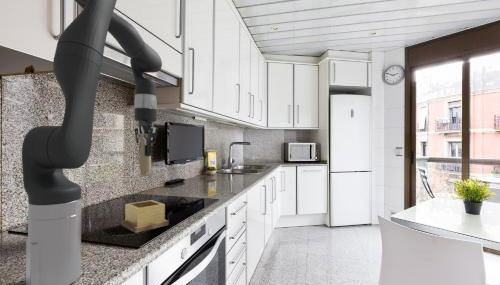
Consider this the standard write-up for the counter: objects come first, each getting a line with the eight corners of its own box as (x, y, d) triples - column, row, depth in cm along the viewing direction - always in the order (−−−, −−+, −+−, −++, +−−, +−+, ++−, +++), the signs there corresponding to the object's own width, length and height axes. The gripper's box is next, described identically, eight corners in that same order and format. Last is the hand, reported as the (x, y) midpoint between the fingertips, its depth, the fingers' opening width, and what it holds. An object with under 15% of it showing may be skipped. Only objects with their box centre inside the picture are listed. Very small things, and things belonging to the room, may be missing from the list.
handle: (145, 176, 93) (145, 133, 93) (133, 175, 96) (134, 133, 96) (156, 175, 97) (157, 134, 97) (145, 174, 100) (145, 134, 100)
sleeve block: (135, 232, 88) (135, 210, 88) (121, 225, 96) (121, 204, 96) (168, 224, 97) (168, 204, 97) (152, 218, 105) (153, 199, 105)
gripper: (127, 108, 99) (126, 155, 99) (144, 105, 89) (144, 156, 89) (146, 110, 104) (146, 154, 104) (165, 107, 94) (164, 156, 94)
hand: (145, 155), depth 96 cm, fingers closed on handle, 3 cm apart
